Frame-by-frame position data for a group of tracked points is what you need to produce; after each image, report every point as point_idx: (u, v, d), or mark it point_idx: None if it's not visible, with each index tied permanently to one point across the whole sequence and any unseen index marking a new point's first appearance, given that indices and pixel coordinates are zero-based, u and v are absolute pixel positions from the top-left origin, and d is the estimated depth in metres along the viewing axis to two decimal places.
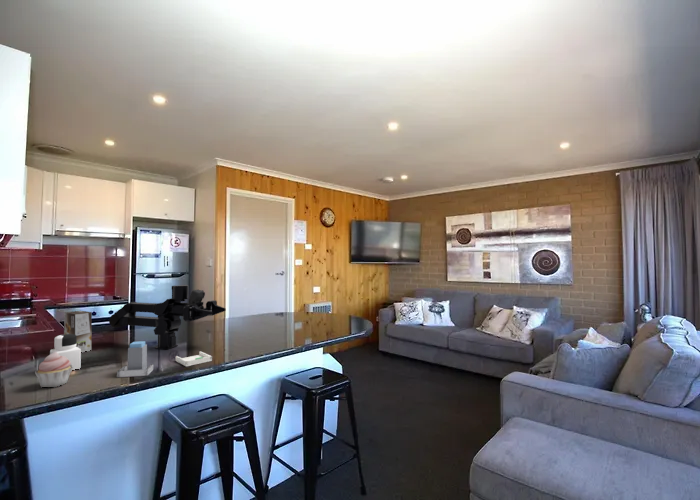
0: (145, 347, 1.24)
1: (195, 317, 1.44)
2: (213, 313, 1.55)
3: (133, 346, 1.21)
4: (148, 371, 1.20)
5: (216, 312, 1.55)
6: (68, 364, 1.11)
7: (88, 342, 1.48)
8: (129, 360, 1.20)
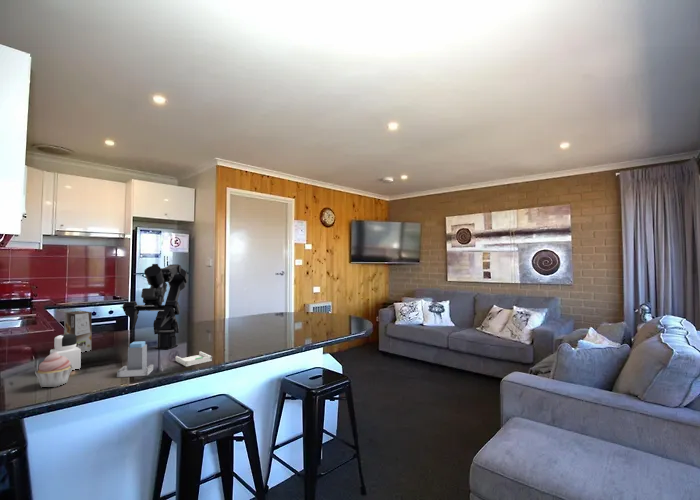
0: (145, 347, 1.24)
1: None
2: None
3: (133, 346, 1.21)
4: (148, 371, 1.20)
5: None
6: (68, 364, 1.11)
7: (88, 342, 1.48)
8: (129, 360, 1.20)
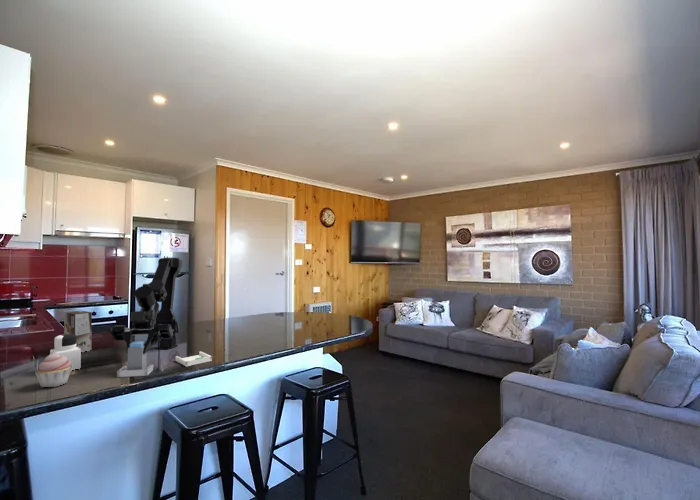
0: None
1: None
2: None
3: (133, 346, 1.21)
4: (148, 371, 1.20)
5: None
6: (68, 364, 1.11)
7: (88, 342, 1.48)
8: (129, 360, 1.20)
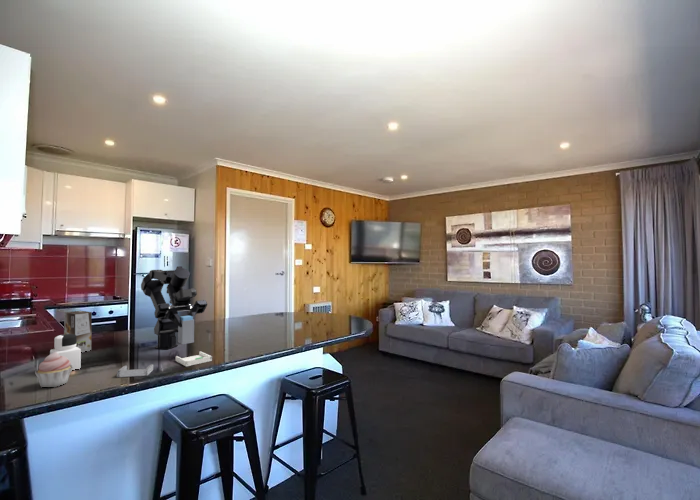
0: None
1: (170, 317, 1.40)
2: (189, 315, 1.46)
3: (186, 319, 1.39)
4: (148, 371, 1.20)
5: None
6: (68, 364, 1.11)
7: (88, 342, 1.48)
8: (183, 331, 1.38)
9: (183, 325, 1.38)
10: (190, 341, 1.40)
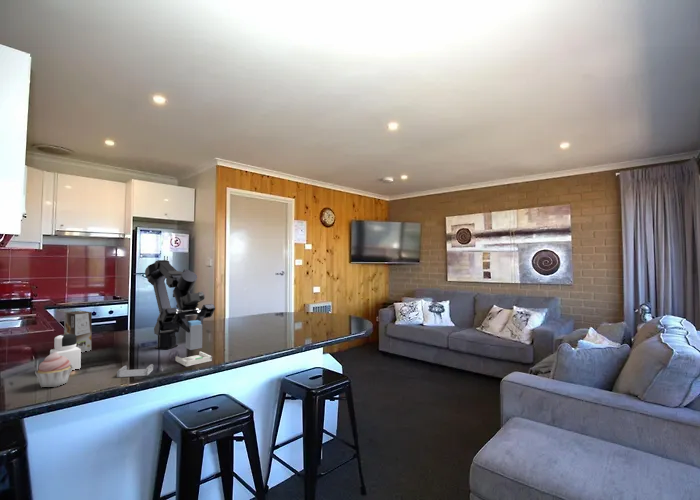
0: None
1: (177, 322, 1.36)
2: None
3: (194, 324, 1.34)
4: (148, 371, 1.20)
5: None
6: (68, 364, 1.11)
7: (88, 342, 1.48)
8: (191, 337, 1.33)
9: (191, 330, 1.33)
10: (198, 346, 1.35)
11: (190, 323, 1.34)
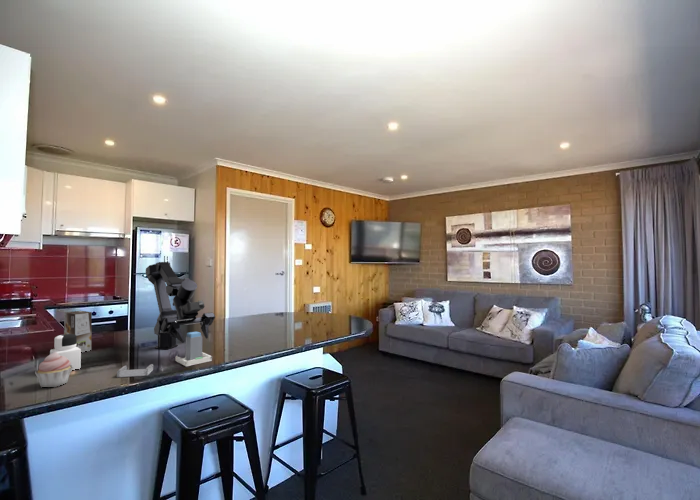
0: None
1: (171, 332, 1.34)
2: (201, 328, 1.42)
3: (194, 336, 1.34)
4: (148, 371, 1.20)
5: (203, 330, 1.41)
6: (68, 364, 1.11)
7: (88, 342, 1.48)
8: (191, 348, 1.33)
9: (191, 342, 1.33)
10: None
11: (190, 335, 1.34)
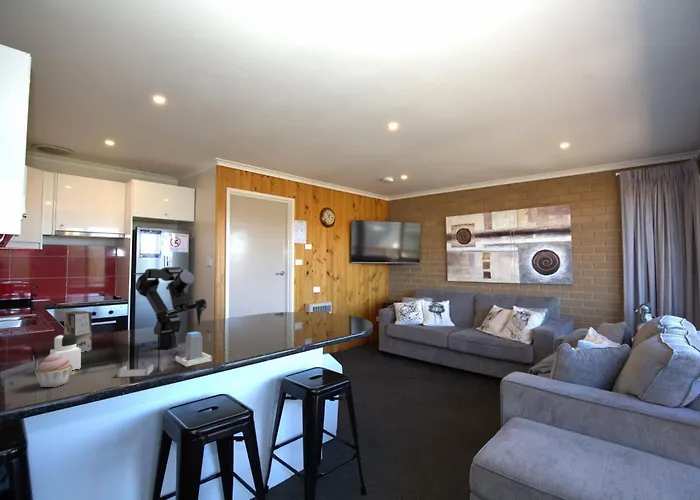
0: None
1: (166, 321, 1.45)
2: None
3: (194, 336, 1.34)
4: (148, 371, 1.20)
5: None
6: (68, 364, 1.11)
7: (88, 342, 1.48)
8: (191, 348, 1.33)
9: (191, 342, 1.33)
10: None
11: (190, 335, 1.34)
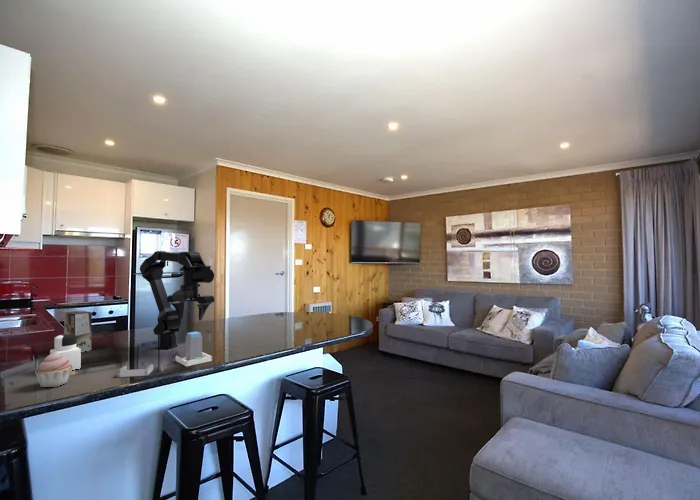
0: None
1: None
2: None
3: (194, 336, 1.34)
4: (148, 371, 1.20)
5: None
6: (68, 364, 1.11)
7: (88, 342, 1.48)
8: (191, 348, 1.33)
9: (191, 342, 1.33)
10: None
11: (190, 335, 1.34)
